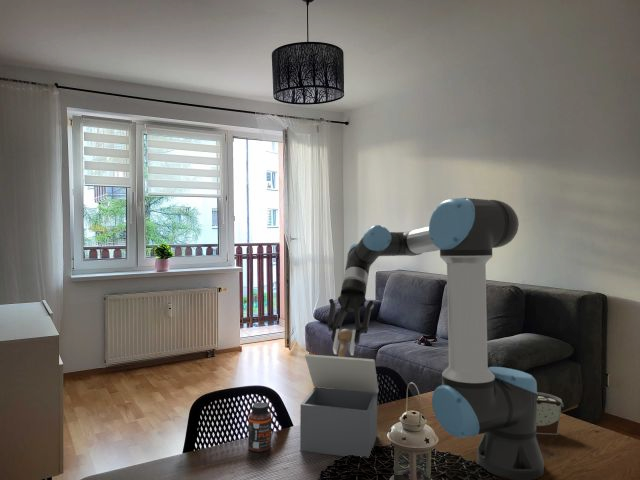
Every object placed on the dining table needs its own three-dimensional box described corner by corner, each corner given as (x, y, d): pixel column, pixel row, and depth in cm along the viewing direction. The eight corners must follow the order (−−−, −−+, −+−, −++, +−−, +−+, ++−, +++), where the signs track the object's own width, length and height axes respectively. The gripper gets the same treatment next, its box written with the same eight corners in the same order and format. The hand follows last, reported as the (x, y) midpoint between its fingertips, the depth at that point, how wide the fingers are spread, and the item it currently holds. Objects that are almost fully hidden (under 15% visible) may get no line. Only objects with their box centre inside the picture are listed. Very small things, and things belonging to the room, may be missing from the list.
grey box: (376, 435, 129) (377, 393, 129) (369, 459, 116) (369, 411, 116) (314, 428, 134) (314, 387, 134) (300, 450, 120) (300, 404, 120)
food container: (554, 425, 137) (554, 392, 137) (563, 435, 131) (563, 399, 131) (511, 423, 138) (511, 390, 138) (517, 432, 132) (518, 397, 132)
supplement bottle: (259, 455, 118) (259, 411, 118) (243, 448, 121) (243, 405, 121) (275, 446, 123) (276, 404, 122) (259, 440, 126) (259, 399, 126)
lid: (378, 392, 129) (382, 359, 137) (374, 361, 120) (378, 327, 128) (313, 386, 134) (321, 354, 142) (304, 355, 125) (313, 323, 133)
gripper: (383, 294, 144) (375, 361, 128) (329, 291, 148) (315, 357, 132) (381, 278, 139) (372, 347, 123) (325, 276, 143) (310, 342, 127)
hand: (343, 352), depth 128 cm, fingers closed on lid, 4 cm apart
